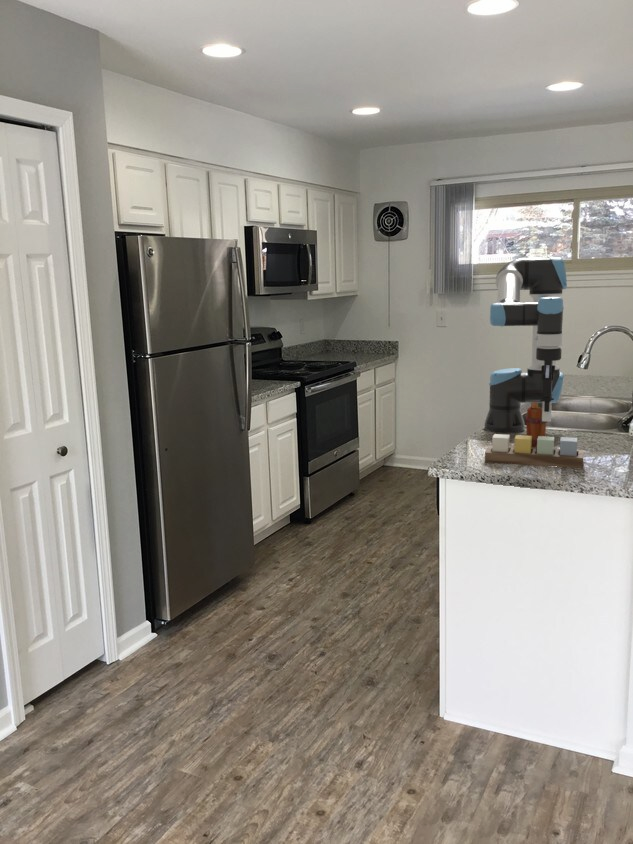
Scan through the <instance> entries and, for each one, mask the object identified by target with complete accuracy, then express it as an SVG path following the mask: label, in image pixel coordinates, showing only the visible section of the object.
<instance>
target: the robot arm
mask: <svg viewBox="0 0 633 844" xmlns="http://www.w3.org/2000/svg"><path fill="white" fill-rule="evenodd" d="M567 284H568V283H567V272H566V264H565V261H564V258H562V257H559V256H544V257H520V258H516V259H513V260H510V261H509V262H507V263H505V265H503V266H502V267H501V268H500V269H499V271H498V272H497V274H496V277H495V286H496V288H497V299H496V303H494V302H493V303H491V304H490V308H489V309H490V311H489V323H490V325H491V326H493V327H501V328H502V327H520V326H524V327H526V326H527V327H528V326H529V327H530V326H531V327H532V340H531V341H532V343H531V363H530V364H529V365H528V366H527V369H526V372H525V371H523V372H522V369H521V368H520V367H516V368H515V367H512V368H511V367H510V368H509V367H508V368H503V369H497V370H495V371H492V372H491V373H490V375H489V378H490V379H489V383H488V384H489V403H488V405H489V406H488V407H489V408H488V411H487V415H486V416H485V417H486V418H485V420H484V430H486V431H488V432H492V433H497V434H498V433H499V434H510V433H511V434H512V433H513V434H514V433H520V432H523V431H524V430H525V427H526V426H525V425H526V424H525V420H524V416H523V414H522V411H521V403H522V404H528V403H529V404H531V403H532V402H537V403H538V404H542V406H541V408H542V421H547V422H546V423H548V422H552V408H553V407H552V404H555V403H558V402H559V400H560V398H561V394H562V390H563V389H562V388H563V384H564V373H563V372H562V371H560V366H559V365H557V363H556V361H560V360H562V348H561V347H562V346H563V321H564V319H563V318H564V317H563V316H564V299H563V297H561V296H562V295H563V290H566V289H567V287H568V285H567ZM521 291H529V297H531V298H532V299H533V301H532V302H521Z"/></svg>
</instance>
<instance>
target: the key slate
mask: <svg viewBox="0 0 633 844" xmlns="http://www.w3.org/2000/svg"><path fill="white" fill-rule="evenodd" d="M559 442H560V443H559V449H560V455H568V456H577V450H578V437H567V436H566V437H563V436H561V437H560V441H559Z"/></svg>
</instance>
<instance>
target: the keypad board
mask: <svg viewBox="0 0 633 844" xmlns="http://www.w3.org/2000/svg"><path fill="white" fill-rule="evenodd" d="M484 463H485V464H495V463H497V465H513V466H528V467H529V466H531V467H545V466H547V467H548V466H557V467H556V468H561V467H570V468H569V469H578V468H580V469H581V470H582V469H584V449H577V456H568V455H560V448H556V447H554V454H553V455H550V454H537V448H536V447H532V448H531V453H514V445H512V446H511V445H510V447H509V452H495V451H492V444H488V445H487V447H486V450H485V452H484ZM547 467H546V468H547ZM548 468H549V467H548Z"/></svg>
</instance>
